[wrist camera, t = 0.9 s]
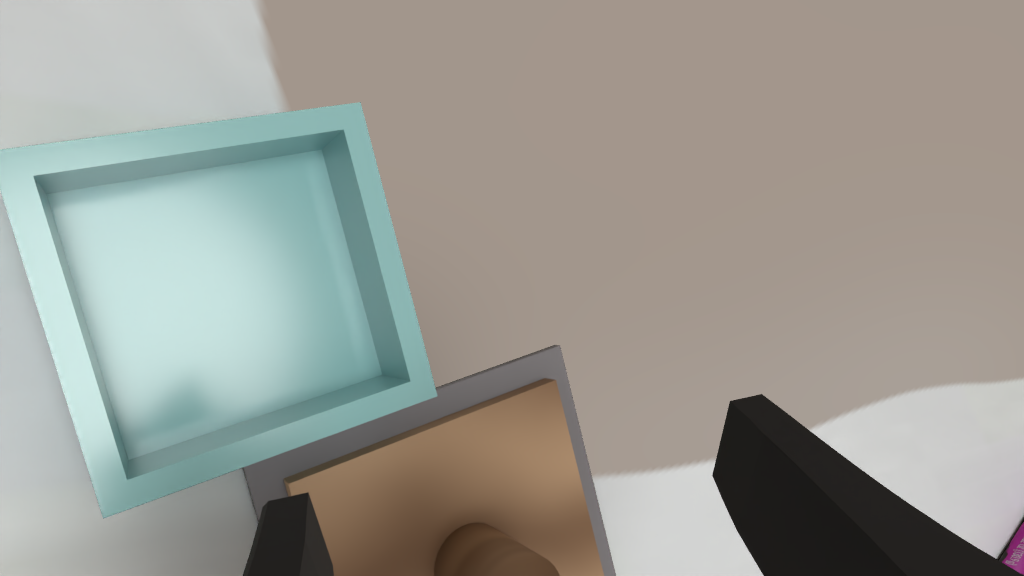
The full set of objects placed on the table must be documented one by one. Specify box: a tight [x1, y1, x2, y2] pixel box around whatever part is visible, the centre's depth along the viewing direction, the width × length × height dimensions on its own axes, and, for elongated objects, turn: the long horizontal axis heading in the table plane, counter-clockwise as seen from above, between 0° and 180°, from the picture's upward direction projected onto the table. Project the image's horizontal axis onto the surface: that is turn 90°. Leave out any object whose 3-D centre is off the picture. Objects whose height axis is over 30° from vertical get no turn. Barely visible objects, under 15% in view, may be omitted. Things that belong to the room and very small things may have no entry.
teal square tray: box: [0, 103, 437, 519], centre depth 20 cm, size 9×9×4 cm
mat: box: [243, 345, 616, 576], centre depth 24 cm, size 12×12×1 cm
